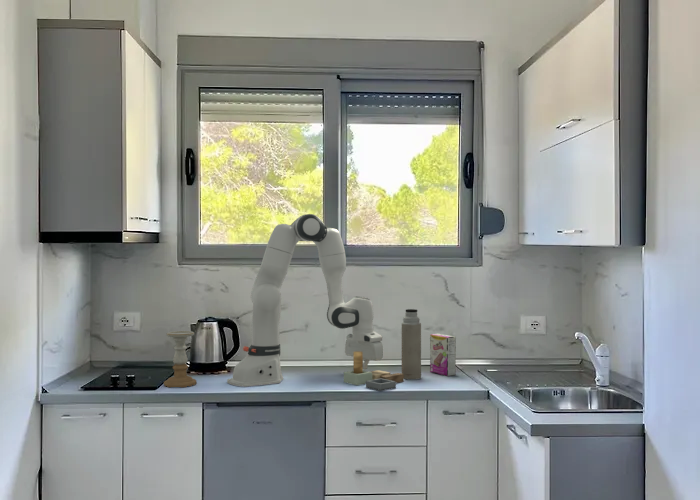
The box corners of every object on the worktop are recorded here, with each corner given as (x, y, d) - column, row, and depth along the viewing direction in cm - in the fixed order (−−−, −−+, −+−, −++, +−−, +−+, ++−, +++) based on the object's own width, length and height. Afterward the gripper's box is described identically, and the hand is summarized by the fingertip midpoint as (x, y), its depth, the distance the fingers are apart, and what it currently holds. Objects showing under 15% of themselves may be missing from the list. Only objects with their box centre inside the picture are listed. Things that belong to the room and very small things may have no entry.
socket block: (357, 385, 238) (357, 375, 238) (343, 382, 245) (343, 372, 245) (372, 382, 244) (372, 372, 244) (358, 379, 250) (358, 369, 250)
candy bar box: (429, 372, 265) (429, 334, 265) (438, 371, 268) (438, 333, 268) (447, 376, 256) (447, 336, 256) (456, 375, 259) (456, 336, 259)
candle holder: (203, 383, 243) (203, 331, 243) (182, 389, 232) (182, 335, 232) (178, 380, 248) (178, 330, 248) (156, 386, 237) (156, 333, 237)
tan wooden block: (374, 383, 245) (374, 375, 245) (362, 380, 250) (362, 372, 250) (390, 379, 251) (390, 372, 251) (378, 377, 256) (378, 370, 256)
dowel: (357, 383, 242) (357, 353, 242) (351, 382, 244) (351, 351, 244) (364, 382, 244) (364, 352, 244) (358, 381, 247) (358, 351, 247)
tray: (380, 391, 229) (380, 384, 229) (365, 387, 235) (365, 380, 235) (395, 388, 234) (395, 381, 234) (381, 384, 240) (381, 378, 240)
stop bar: (385, 384, 239) (385, 377, 239) (380, 383, 242) (380, 376, 242) (403, 381, 246) (403, 373, 246) (398, 380, 248) (398, 372, 248)
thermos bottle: (397, 378, 253) (397, 309, 253) (407, 374, 259) (407, 308, 260) (415, 380, 248) (415, 310, 248) (424, 377, 255) (424, 309, 255)
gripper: (341, 334, 263) (341, 366, 263) (374, 338, 248) (374, 373, 248) (352, 332, 267) (352, 364, 267) (385, 337, 252) (385, 371, 252)
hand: (363, 368), depth 257 cm, fingers closed
